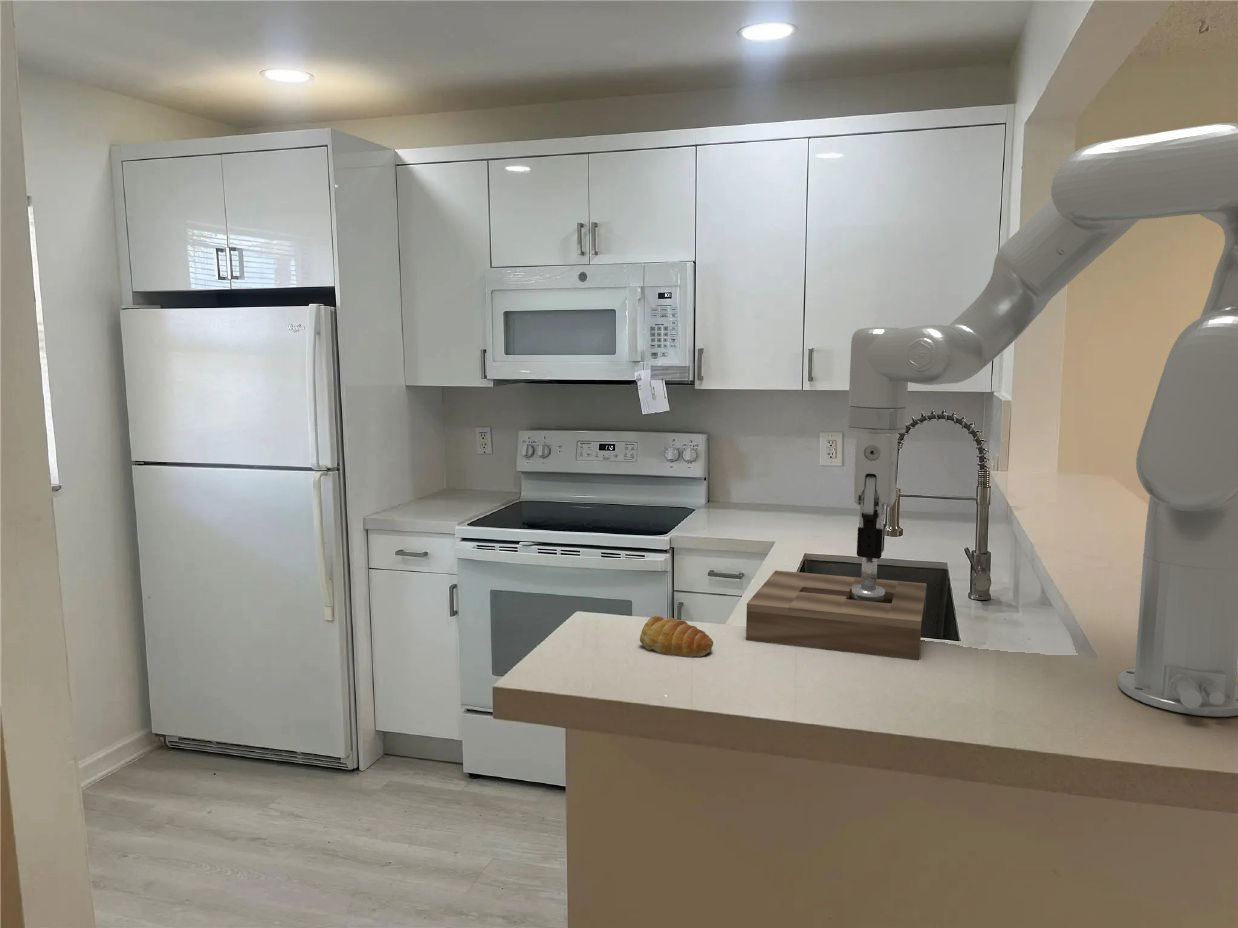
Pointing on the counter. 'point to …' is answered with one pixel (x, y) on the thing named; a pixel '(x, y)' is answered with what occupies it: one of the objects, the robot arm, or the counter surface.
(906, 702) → the counter surface
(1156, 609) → the robot arm
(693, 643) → the pastry
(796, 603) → the keyhole plate
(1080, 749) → the counter surface
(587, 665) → the counter surface
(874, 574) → the keyhole bolt
